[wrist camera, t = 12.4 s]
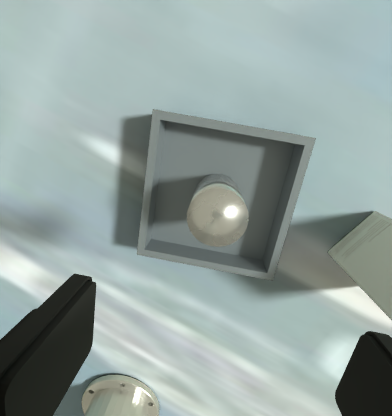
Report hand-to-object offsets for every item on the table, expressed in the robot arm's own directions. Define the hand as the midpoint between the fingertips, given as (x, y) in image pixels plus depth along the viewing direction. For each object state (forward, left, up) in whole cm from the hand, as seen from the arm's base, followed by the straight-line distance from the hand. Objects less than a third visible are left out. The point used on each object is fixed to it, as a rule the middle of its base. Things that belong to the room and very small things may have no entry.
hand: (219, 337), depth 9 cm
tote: (0, 0, -22) cm, 22 cm away
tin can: (0, 0, -21) cm, 21 cm away
